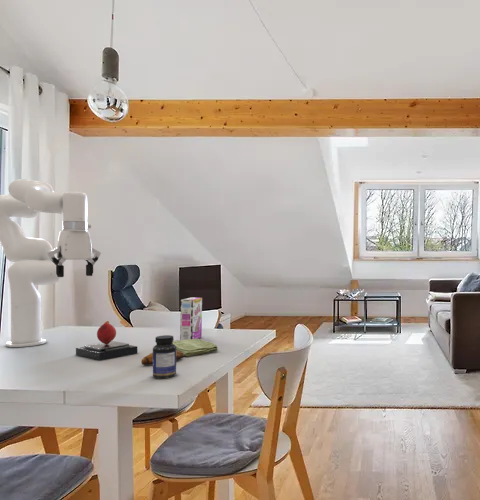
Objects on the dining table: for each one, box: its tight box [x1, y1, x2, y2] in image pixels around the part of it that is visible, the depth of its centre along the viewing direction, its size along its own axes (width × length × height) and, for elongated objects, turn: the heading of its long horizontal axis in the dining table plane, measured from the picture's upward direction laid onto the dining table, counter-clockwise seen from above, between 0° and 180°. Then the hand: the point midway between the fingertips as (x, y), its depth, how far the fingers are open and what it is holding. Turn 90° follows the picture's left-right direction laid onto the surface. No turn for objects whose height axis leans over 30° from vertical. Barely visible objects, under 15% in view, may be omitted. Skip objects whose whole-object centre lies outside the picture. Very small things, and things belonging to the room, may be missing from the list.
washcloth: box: [173, 338, 219, 357], centre depth 167 cm, size 13×18×3 cm
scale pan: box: [83, 340, 130, 351], centre depth 162 cm, size 10×10×1 cm
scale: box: [75, 344, 138, 361], centre depth 162 cm, size 15×13×3 cm
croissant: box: [140, 350, 185, 366], centre depth 149 cm, size 14×7×5 cm, turn 138°
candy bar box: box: [179, 296, 203, 341], centre depth 188 cm, size 11×5×16 cm, turn 178°
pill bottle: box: [152, 334, 177, 380], centre depth 133 cm, size 6×6×11 cm
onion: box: [96, 320, 117, 345], centre depth 162 cm, size 6×6×8 cm
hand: (75, 276), depth 166 cm, fingers open, 9 cm apart
